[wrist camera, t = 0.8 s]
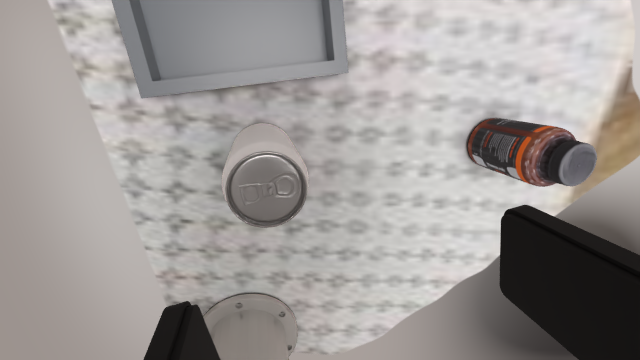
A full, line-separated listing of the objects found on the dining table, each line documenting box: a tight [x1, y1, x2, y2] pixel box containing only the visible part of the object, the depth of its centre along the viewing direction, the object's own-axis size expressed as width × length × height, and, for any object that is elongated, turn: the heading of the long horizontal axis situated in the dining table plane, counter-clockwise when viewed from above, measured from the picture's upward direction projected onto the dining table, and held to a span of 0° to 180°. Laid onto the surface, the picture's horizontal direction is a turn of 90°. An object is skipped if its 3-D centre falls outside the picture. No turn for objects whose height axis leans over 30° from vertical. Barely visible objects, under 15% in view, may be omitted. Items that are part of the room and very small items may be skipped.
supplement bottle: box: [468, 118, 597, 187], centre depth 32 cm, size 6×6×11 cm
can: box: [222, 123, 309, 228], centre depth 27 cm, size 6×6×12 cm
